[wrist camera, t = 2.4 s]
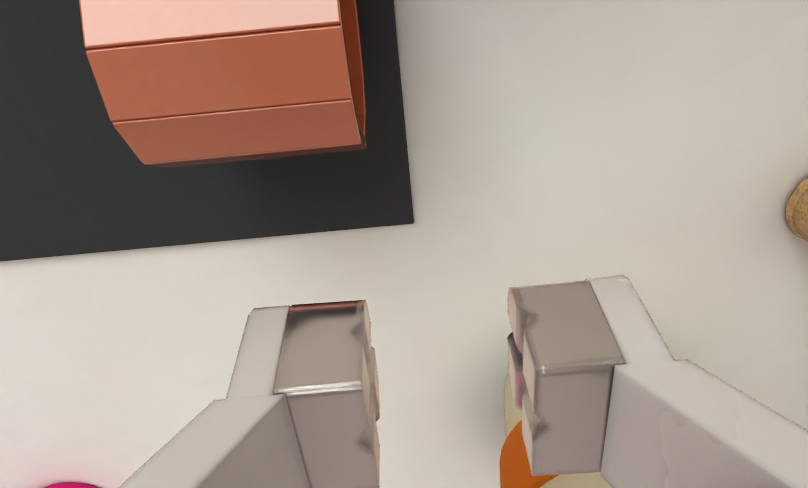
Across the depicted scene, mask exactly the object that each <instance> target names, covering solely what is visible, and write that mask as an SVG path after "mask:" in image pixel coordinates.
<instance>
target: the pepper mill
mask: <svg viewBox="0 0 808 488" xmlns="http://www.w3.org/2000/svg"><path fill="white" fill-rule="evenodd" d="M45 488H98V487H94V486H91V485H87V484H82V483H74V482H70V483H58V484H52V485H50V486H48V487H45Z"/></svg>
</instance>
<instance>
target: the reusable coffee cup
mask: <svg viewBox="0 0 808 488" xmlns="http://www.w3.org/2000/svg"><path fill="white" fill-rule="evenodd" d="M504 408H505V429H506V441H505V443H504V445H503V447H502V450H501V457H500V484H501V488H612V487H611V486H610V485H609V484H608V483H607V482H606V481H605V480H604V479H603V478H602V477H601V476H600V475H601V472H595V473H577V474H559V475H541V476H532V473H531V469H530V465H529V461H528V456H527V452H526V448H525V444H524V440H523V436H522V411H521V410H520V409H519V408H517V407H516V406H515V401H514V397H513V392H512V387H511V381H510V375H509V374H508V376H507V379H506V381H505V387H504Z"/></svg>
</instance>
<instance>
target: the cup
mask: <svg viewBox="0 0 808 488" xmlns="http://www.w3.org/2000/svg"><path fill="white" fill-rule="evenodd" d="M79 5H80V13H81V22H82V30H83V39H84V46H85V48H86V49H88V50H87V51H86V54H87V57H88V60H89V63H90V66H91V68H92V71H93V74H94V77H95V79H96V82H97V85H98V88H99V90H100V93H101V96H102V99H103V101H104V104H105V107H106V110H107V112H108V115H109V118H110V120H111V121H113V122H112V123H113V126H114V127H115V128H116V130H117V131H118V132H119V133H120V135H121V136H122V137H123V139H124V140H125V141H126V143H127V144H128V145H129V147H130V148H131V149H132V150H133V152H134V153H135V154H136V156H137V157H138V158H139V160H140V161H141V162H142V163H144V164H146V165H152V166H159V167H165V168H174V167H184V166H195V165H206V164H216V163H227V162H237V161H248V160H259V159H269V158H280V157H291V156H301V155H312V154H322V153H333V152H344V151H354V150H364V149H366V135H367V115H366V97H365V82H364V70H363V59H362V48H361V38H360V28H359V19H358V11H357V3H356V0H79Z"/></svg>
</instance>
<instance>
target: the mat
mask: <svg viewBox="0 0 808 488" xmlns="http://www.w3.org/2000/svg"><path fill="white" fill-rule="evenodd" d="M356 3H357V11H358V19H359V28H360V38H361V48H362V59H363V70H364V82H365V97H366V115H367V135H366V149H364V150H354V151H344V152H333V153H322V154H312V155H301V156H291V157H280V158H269V159H259V160H248V161H237V162H227V163H216V164H206V165H195V166H184V167H174V168H165V167H159V166H152V165H146V164H144V163H142V162H141V161H140V160H139V158H138V157H137V156H136V154H135V153H134V152H133V150H132V149H131V148H130V147H129V145H128V144H127V143H126V141H125V140H124V139H123V137H122V136H121V135H120V133H119V132H118V131H117V130H116V128H115V127H114V126H113V123H112V122H113V121H111V120H110V118H109V115H108V112H107V110H106V107H105V104H104V101H103V99H102V96H101V93H100V90H99V88H98V85H97V82H96V79H95V77H94V74H93V71H92V68H91V66H90V63H89V60H88V57H87V54H86V51H87V50H88V49H86V48H85V46H84V39H83V30H82V22H81V13H80V5H79V0H0V261H9V260H20V259H31V258H42V257H52V256H63V255H74V254H85V253H96V252H107V251H118V250H129V249H140V248H151V247H162V246H173V245H184V244H195V243H206V242H216V241H227V240H238V239H249V238H260V237H271V236H282V235H293V234H304V233H315V232H326V231H337V230H348V229H359V228H370V227H380V226H391V225H402V224H413V223H414V218H413V207H412V196H411V186H410V175H409V164H408V153H407V143H406V132H405V121H404V110H403V100H402V89H401V78H400V67H399V57H398V46H397V35H396V25H395V14H394V3H393V0H356Z"/></svg>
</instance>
